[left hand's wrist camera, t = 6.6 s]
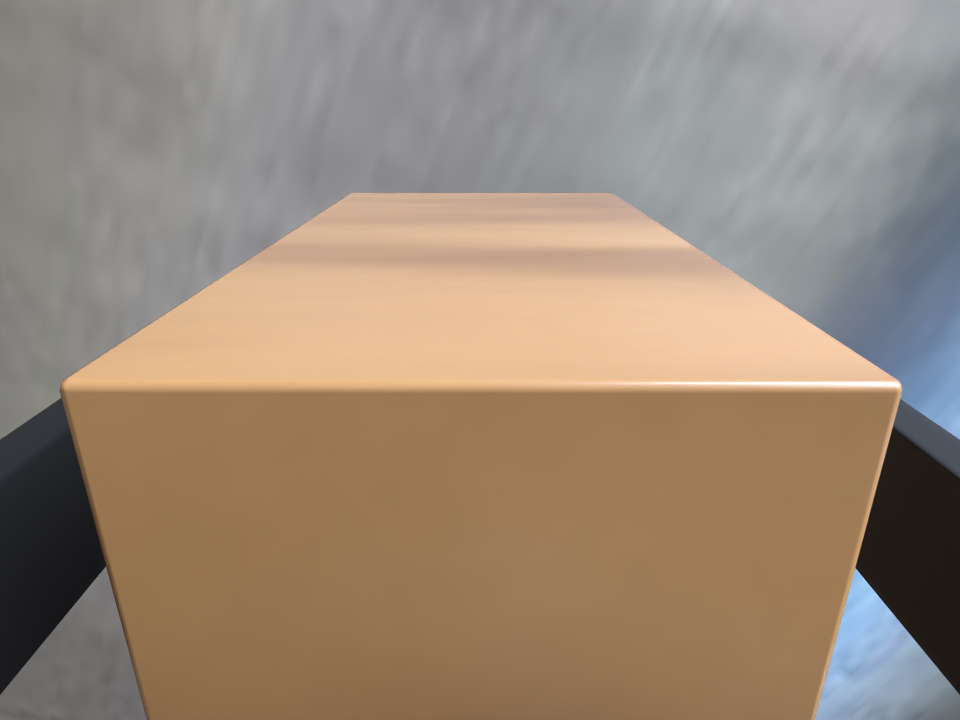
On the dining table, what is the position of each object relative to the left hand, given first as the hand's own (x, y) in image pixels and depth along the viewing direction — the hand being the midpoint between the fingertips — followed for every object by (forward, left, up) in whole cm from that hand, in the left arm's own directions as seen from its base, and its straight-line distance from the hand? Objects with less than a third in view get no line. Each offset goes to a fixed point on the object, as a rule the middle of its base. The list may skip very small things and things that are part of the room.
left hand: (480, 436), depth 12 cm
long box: (+8, +2, -4) cm, 9 cm away
